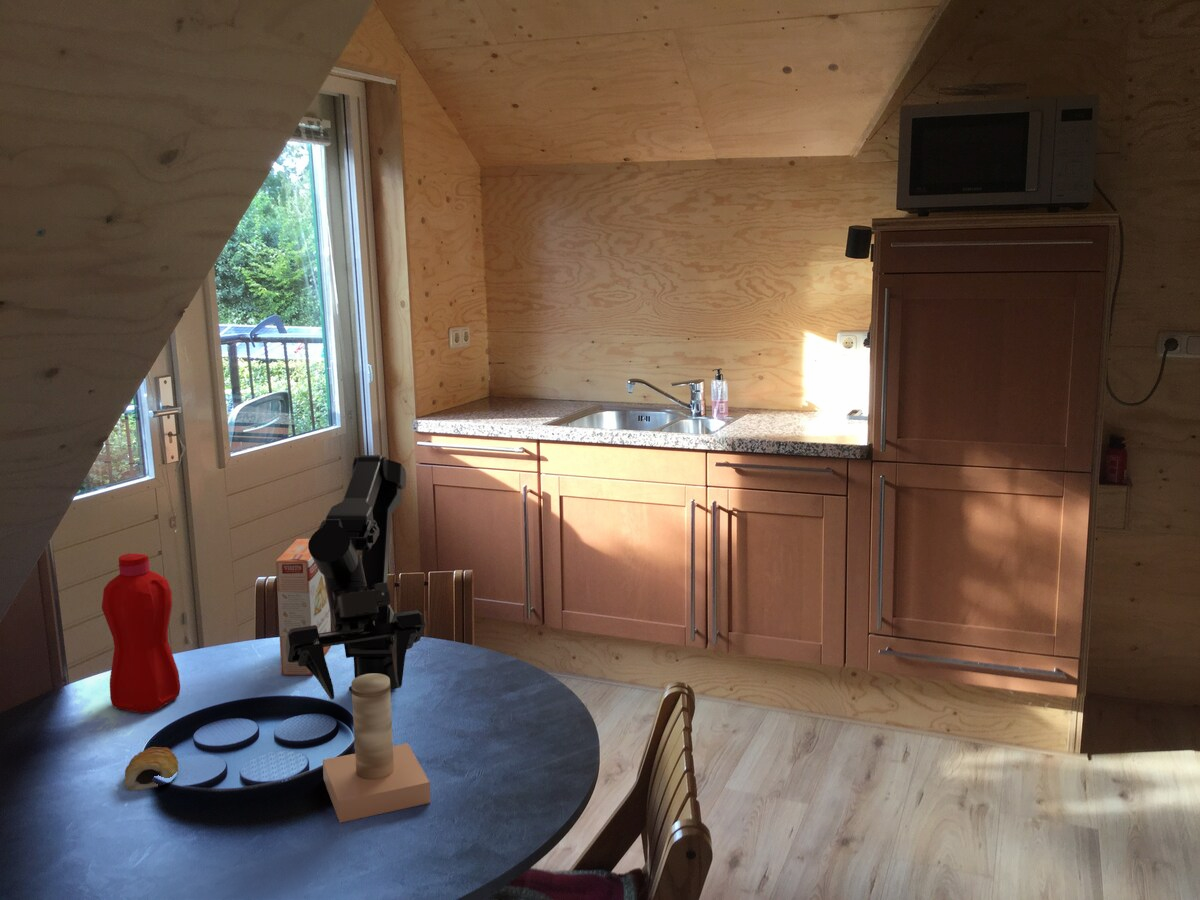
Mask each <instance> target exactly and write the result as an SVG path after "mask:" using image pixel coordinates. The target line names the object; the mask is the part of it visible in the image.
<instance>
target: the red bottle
mask: <svg viewBox="0 0 1200 900" xmlns="http://www.w3.org/2000/svg"><path fill="white" fill-rule="evenodd" d="M118 568H119V574H118V575H116V576H115V577H114V578H112V579H111V580H110V581H108V582H107V584H106V585H105V586H104V588H103V591H102V602H101V610H102V612H103V615H104V619H105V620H106V623H107V626H108V628H109V631H110V633H111V636H112V641H113V646H114V650H113V656H112V662H111V669H110V677H109V699H110V701H111V704H112V706H113V707H114V708H116V709H118V710H123V711H129V712H134V713H139V714H146V713H150V712H151V713H152V712H155V711H157V710H158V709H161V708H162V707H164V706H165V705H167V704H168V703H171V702H173V701H174V700H176V699H177V698H178V697H179V696H180V693H181V692H180V691H181V681H180V674H179V670H178V667H177V664H176V661H175V657H174V655H173V653H172V652H173V651H172V650H171V649H172V648H171V646H170V642H169V631H168V630H169V625H170V620H171V619H170V618H171V613H172V607H173V593H172V590H171V587H170V585H169V582H168V579H166V578H165V577H164V576H162V575H161V574H159V573H157V572H154V571H152V570H150V568H151V567H150V559H149V555H148V554H145V553H144V554H143V553H129V552H128V553H124V554H122V555H120V556H119V557H118Z"/></svg>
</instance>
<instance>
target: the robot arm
mask: <svg viewBox="0 0 1200 900" xmlns="http://www.w3.org/2000/svg"><path fill="white" fill-rule="evenodd" d="M353 459H354V460H353V463H352V464H351V477H350V480H349V482H348V485H347V488H346V490H345V494H344V496H343V499H342V500H341V502H339V503H337V504H335V505H332V507H330V509H329V510H328V513H327V515H326V517H325V519H323V520H322V521H321V523H320V525H319V527H318V529H317V530H316V531H315V532H314V533H313V534H312V535H311V537H310V538H309V539H310V540H309V543H308V549H309V552H310V554H311V556H312V558H313V560H314V562H315V563H316V565H317V567H318V569H319V571H320V573H322V574H323V575H324V581H325V586H326V592H327V597H328V603H329V608H330V620H331V624H332V625H331V626H332V629H333V631H331V632H326V633H319V634H318V628H317V626H316V625H313V626H306V627H300V628H293V629H291V630H290V631H289V632H288V634H287V640H286V654H287V660H288V662H291V663H292V662H298V666H306V667H307V668H308V669H309V670H310V672H311V673H312V674H313V675H312V676H314V677H315V678H316V680H317V681H318V683H319V684H320V686H321V687H322V689H323V690H324V692H325V694H326V695H327V696H328V697H329V699H330V701H332V700H335V691H334V685H333V682H332V677H331V674H330V672H329V667H328V664H327V661H326V657H325V656H326V655H325V656H324V650H323V647H327V646H331V647H333V646H338V645H343V647H344V653H345V658H346V659H350V658H353V675H354V679H355V678H356V677H358V676H361V675H364V674H371V673H378V674H384V675H386V676H388V677H389V678H390V686H391V688H390V692H391V691H392V690H394V689H396V688H398V689H400V688H402V686H403V676H404V667H405V659H406V653H407V650H410V649H412V648H413V646H414V644H416V643H417V642H420V641H421V638H422V635H423V634H424V633H423V632H424V630H425V628H426V623H425V618H424V615H423V614H422V613H421V612H420V611H419V610H418V609H416V610H409V611H403V612H394V610H393V608H392V606H391V595H390V594H391V593H390V589H389V584H388V574H389V572H388V571H389V560H390V559H389V558H390V540H391V538H390V537H391V525H392V524H391V523H392V515H393V513H394V512H395V510H396V509H397V508H398V506H399V504H400V503H401V502H402V496H403V490H405V489H406V487H407V484H406V483H407V471H406V468H405V467H404V466H403V464H402V463H400V462H398V461H394V460H392V459H388V457H387V456H383V455H382V454H373V455H372V454H361V455H360V454H359V455H358V456H355V457H354V458H353ZM358 552H361V556H360V555H359V554H358ZM348 691H350V692H352V691H351V685H350V686H348Z"/></svg>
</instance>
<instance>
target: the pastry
mask: <svg viewBox="0 0 1200 900" xmlns="http://www.w3.org/2000/svg"><path fill="white" fill-rule="evenodd" d="M177 771H178V772H179V761H178V757H177V756H176V754H175V753H173V751H172V750H171V749H170V748H169V747H161V746H158V747H157V746H151V747H148V748H146V749H145V750H142V751H140V752H138V753H137V754H135V755H134V756H133V757H132V758H131V759H130V761H129V763H128V765H127V766H126V768H125V770H124V775H125V777H124V778H125V780H124V782H123V786H124V787H125V788H127V789H128V790H129V791H132V792H133V791H143V790H149V789H151V788H159V787H158V784H156V783H155V782H154V781H153V777H154V776H158V775H159V776H161V777H164V778H170V777H172V776H173V775H174V774H175V773H176V772H177Z"/></svg>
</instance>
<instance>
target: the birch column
mask: <svg viewBox="0 0 1200 900" xmlns="http://www.w3.org/2000/svg"><path fill="white" fill-rule="evenodd" d="M350 684H351V685H350V686H351V691H350V692H351V699H352V701H351V702H352V720H353V736H354V737H353V738H354V754H355V758H356V773H357V775H358V776H359V777H360V778H363V779H368V780H375V779H381V778H384V777H386V776H388V775H390V774H391V773H392V772H393V770H394V761H393V746H394V741H393V724H392V722H393V721H392V699H391V696H392V695H391V691H390V688H391V686H390V678H389V677H388V676H386V675H384V674H378V673H371V674H364V675H361V676H358V677H356V678H355V677H354V678H353V679H352V681H351V683H350Z"/></svg>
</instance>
